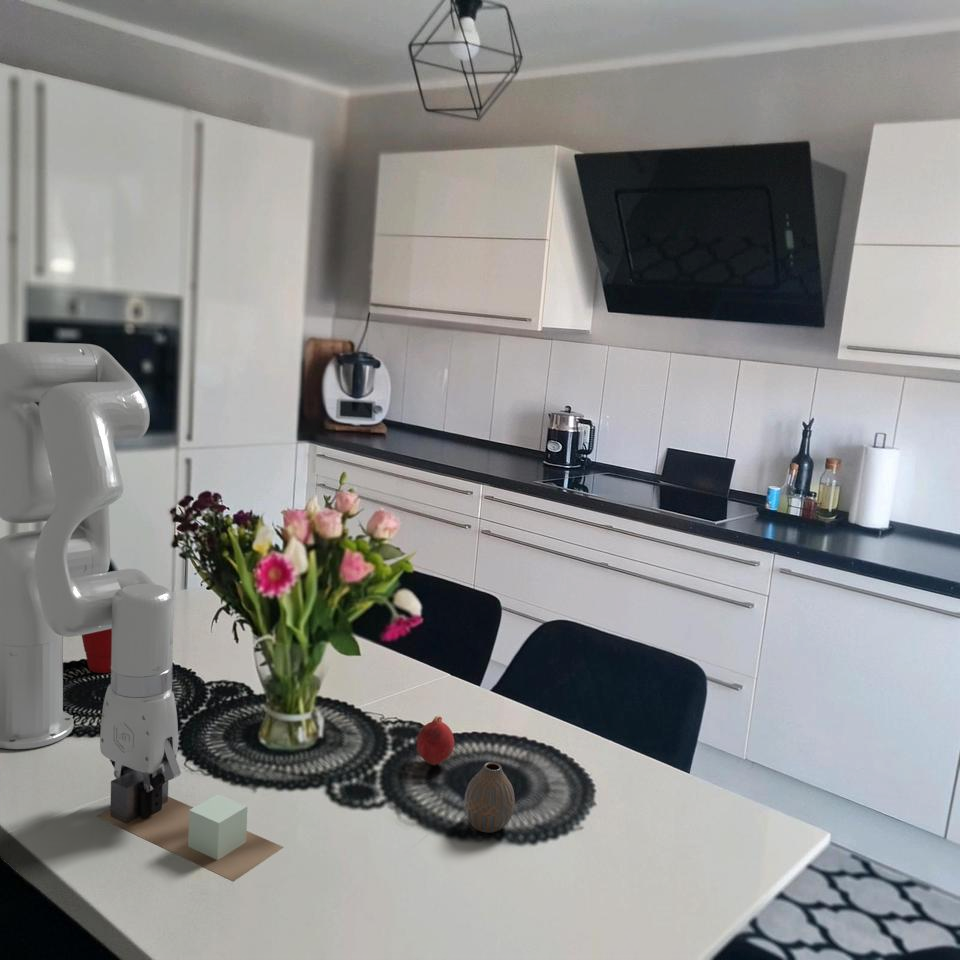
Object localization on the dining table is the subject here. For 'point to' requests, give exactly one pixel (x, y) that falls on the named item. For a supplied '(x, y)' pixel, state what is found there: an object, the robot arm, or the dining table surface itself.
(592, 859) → the dining table surface
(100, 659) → the plastic cup
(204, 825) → the sage block
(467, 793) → the vase
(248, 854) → the board with grey block
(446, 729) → the red pomegranate
